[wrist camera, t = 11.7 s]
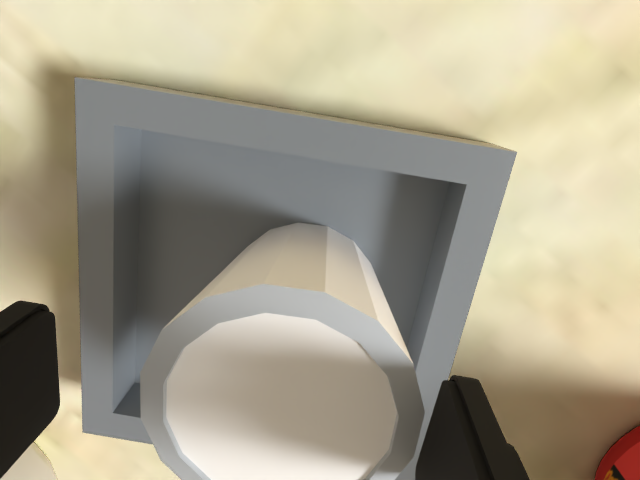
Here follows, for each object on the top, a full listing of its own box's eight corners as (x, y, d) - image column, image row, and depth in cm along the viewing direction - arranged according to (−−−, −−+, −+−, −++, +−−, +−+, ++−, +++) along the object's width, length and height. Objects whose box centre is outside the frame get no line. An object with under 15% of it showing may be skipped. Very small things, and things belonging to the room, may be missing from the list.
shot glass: (229, 369, 18) (164, 527, 12) (204, 211, 16) (105, 293, 9) (394, 364, 18) (425, 526, 11) (391, 200, 16) (426, 278, 9)
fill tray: (116, 80, 15) (74, 76, 13) (490, 143, 15) (517, 152, 13) (114, 391, 20) (82, 432, 17) (406, 441, 20) (414, 488, 17)
